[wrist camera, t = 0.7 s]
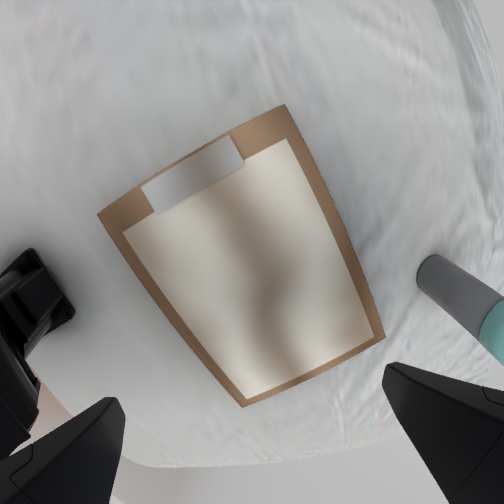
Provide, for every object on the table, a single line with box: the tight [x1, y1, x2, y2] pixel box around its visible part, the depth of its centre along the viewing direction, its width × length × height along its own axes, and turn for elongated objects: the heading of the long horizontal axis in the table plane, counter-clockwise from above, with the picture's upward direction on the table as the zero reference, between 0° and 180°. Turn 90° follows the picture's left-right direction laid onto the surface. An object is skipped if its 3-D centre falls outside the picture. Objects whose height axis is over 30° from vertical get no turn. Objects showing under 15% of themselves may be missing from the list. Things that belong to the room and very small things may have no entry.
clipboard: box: [97, 104, 386, 408], centre depth 21 cm, size 14×20×2 cm
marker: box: [417, 255, 504, 366], centre depth 18 cm, size 4×4×11 cm
